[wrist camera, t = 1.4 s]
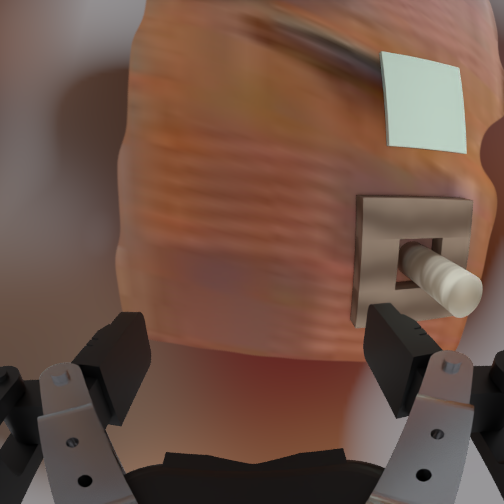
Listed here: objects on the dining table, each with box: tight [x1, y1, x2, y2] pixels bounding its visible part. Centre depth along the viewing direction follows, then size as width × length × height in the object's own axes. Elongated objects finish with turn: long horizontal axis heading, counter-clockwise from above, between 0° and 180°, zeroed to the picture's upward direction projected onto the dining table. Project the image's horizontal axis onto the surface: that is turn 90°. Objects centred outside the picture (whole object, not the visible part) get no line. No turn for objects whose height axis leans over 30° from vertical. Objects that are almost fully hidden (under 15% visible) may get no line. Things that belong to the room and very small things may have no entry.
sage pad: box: [379, 51, 466, 154], centre depth 32 cm, size 12×12×1 cm
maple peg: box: [398, 241, 482, 318], centre depth 31 cm, size 4×4×13 cm
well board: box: [350, 195, 473, 328], centre depth 36 cm, size 16×16×2 cm
